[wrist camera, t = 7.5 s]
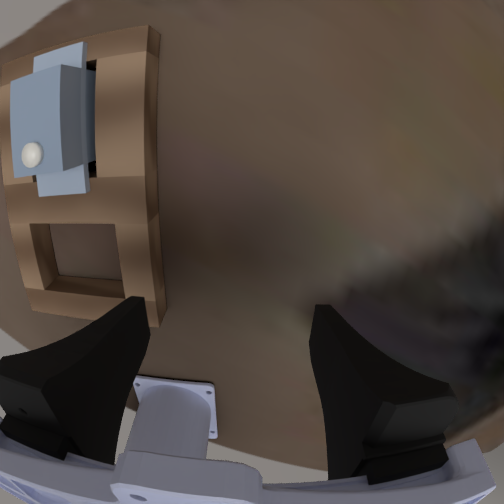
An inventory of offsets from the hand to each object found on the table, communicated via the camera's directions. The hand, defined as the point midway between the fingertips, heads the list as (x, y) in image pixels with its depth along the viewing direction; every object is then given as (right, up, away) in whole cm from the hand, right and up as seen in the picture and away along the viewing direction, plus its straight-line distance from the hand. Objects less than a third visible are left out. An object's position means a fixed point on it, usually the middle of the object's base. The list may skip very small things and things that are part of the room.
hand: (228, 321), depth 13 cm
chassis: (-11, +8, +7) cm, 15 cm away
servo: (-11, +12, +5) cm, 17 cm away
